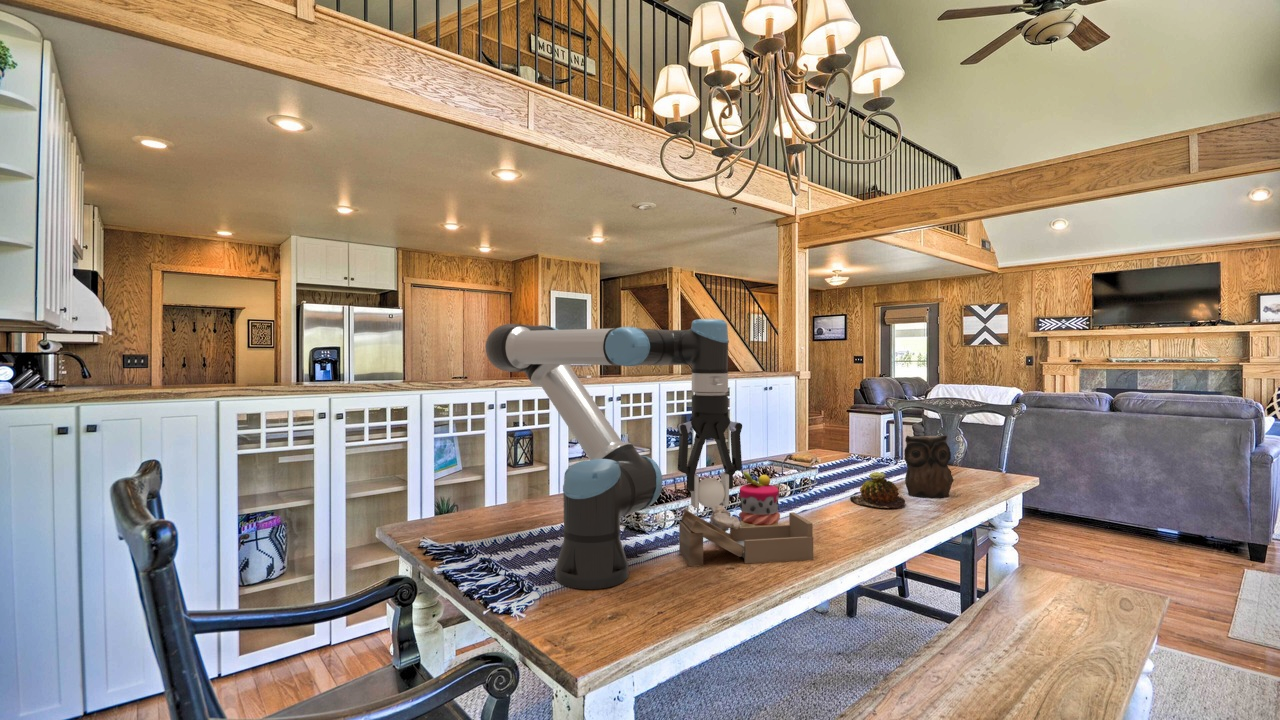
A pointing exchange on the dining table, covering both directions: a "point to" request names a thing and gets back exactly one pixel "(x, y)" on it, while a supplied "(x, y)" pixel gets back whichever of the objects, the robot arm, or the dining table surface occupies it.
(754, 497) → the cake
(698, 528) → the ramp
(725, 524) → the rock
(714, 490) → the ball
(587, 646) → the dining table surface
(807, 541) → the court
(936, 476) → the dark brown owl statuette
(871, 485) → the cactus
